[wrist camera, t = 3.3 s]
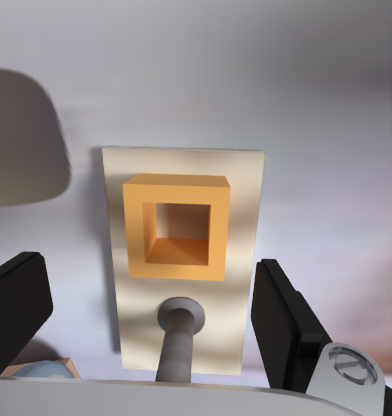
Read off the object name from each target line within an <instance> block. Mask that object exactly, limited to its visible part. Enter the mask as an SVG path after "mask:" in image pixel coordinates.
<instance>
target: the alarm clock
mask: <svg viewBox="0 0 392 416" xmlns="http://www.w3.org/2000/svg"><path fill="white" fill-rule="evenodd" d="M0 376H9V377H41V378H71V379H81V378H80V376H79V374H78V372H77V370H76V368H75V366H74V365H73V363H72V361H71V359H70V358H67V359H60V360H54V361H49V360H45V361H38V362H32V363H26V364H20V365H13V366H8V367H7V368H6V369H5V370H4V371H3V373H2V374H1V375H0Z"/></svg>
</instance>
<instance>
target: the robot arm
mask: <svg viewBox="0 0 392 416" xmlns="http://www.w3.org/2000/svg"><path fill="white" fill-rule="evenodd" d="M52 312H53V302H52V297H51V292H50V286H49V281H48V275H47V270H46V265H45V259H44V257H43V256H42V255H41V254H40V253H39V252H22V253H20V254H18V255H17V256H15V257H14V258H12V259H10V260H9V261H7V262H6V263H4V264H3V265H1V266H0V375H1V374H2V373H3V371H4V370H5V369H6V368H7V367H8V365H9V364H10V363H11V362H12V361H13V360H14V358H15V357H16V356H17V355H18V354H19V352H20V351H21V350H22V349H23V348H24V346H25V345H26V344H27V343H28V342H29V341H30V339H31V338H32V337H33V336H34V335H35V333H36V332H37V331H38V330H39V329H40V327H41V326H42V325H43V324H44V323H45V322H46V320H47V319H48V318H49V317H50V316H51V314H52ZM251 321H252V325H253V329H254V332H255V336H256V339H257V343H258V346H259V350H260V353H261V357H262V360H263V364H264V367H265V371H266V375H267V378H268V382H269V385H270V388H263V387H251V386H235V385H218V384H200V383H176V382H151V381H127V380H99V379H71V378H41V377H9V376H0V416H392V389H391V388H390V387H388V386H386V385H385V378H384V374H383V372H382V370H381V369H380V367H379V366H378V365H377V364H376V362H375V361H374V360H373V359H372V358H371V357H369V356H368V355H367V354H366V353H364V352H363V351H361V350H359V349H357V348H356V347H353V346H351V345H348V344H345V343H340V342H333V341H332V340H331V338H330V337H329V335H328V334H327V332H326V331H325V329H324V328H323V326H322V325H321V323H320V322H319V320H318V319H317V317H316V315H315V314H314V312H313V311H312V309H311V308H310V306H309V305H308V303H307V302H306V300H305V299H304V297H303V296H302V294H301V293H300V292H299V291H296V290H295V289H294V287H293V286H292V284H291V283H290V281H289V279H288V278H287V276H286V275H285V273H284V271H283V270H282V268H281V267H280V265H279V264H278V262H277V260H276V259H262V260H261V262H257V265H256V273H255V282H254V291H253V299H252V308H251Z"/></svg>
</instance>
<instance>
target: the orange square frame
mask: <svg viewBox="0 0 392 416" xmlns="http://www.w3.org/2000/svg"><path fill="white" fill-rule="evenodd" d="M230 190H231V187H230V185H229V183H228V181H227V179H226V177H225V176H210V175H178V174H146V173H140V174H139V175H137V176H135V177H133V178H132V179H130V180H128V181H126V182H125V183H123V197H124V211H125V225H126V239H127V253H128V267H129V277H143V278H165V279H188V280H211V281H224V274H225V260H226V246H227V232H228V218H229V204H230ZM156 203H178V204H206V205H209V219H208V240H202V239H177V238H157V227H156Z"/></svg>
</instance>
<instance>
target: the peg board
mask: <svg viewBox="0 0 392 416" xmlns="http://www.w3.org/2000/svg"><path fill="white" fill-rule="evenodd" d="M102 154H103V165H104V175H105V186H106V196H107V207H108V218H109V228H110V239H111V249H112V260H113V270H114V281H115V291H116V302H117V312H118V323H119V333H120V344H121V354H122V365H123V369H135V370H153V371H157V375H156V380H155V382H176V383H191V373H207V374H225V375H240V372H241V364H242V355H243V346H244V337H245V328H246V319H247V310H248V302H249V293H250V284H251V275H252V266H253V257H254V249H255V240H256V231H257V222H258V213H259V204H260V195H261V187H262V178H263V169H264V160H265V152H262V151H249V150H214V149H178V148H142V147H105V148H102ZM140 173H146V174H178V175H210V176H225V177H226V179H227V181H228V183H229V185H230V187H231V190H230V204H229V218H228V232H227V246H226V260H225V274H224V281H211V280H188V279H165V278H143V277H129V267H128V253H127V239H126V225H125V211H124V197H123V183H125V182H126V181H128V180H130V179H132V178H133V177H135V176H137V175H139V174H140ZM208 219H209V205H206V204H178V203H156V227H157V238H177V239H202V240H208Z"/></svg>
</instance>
